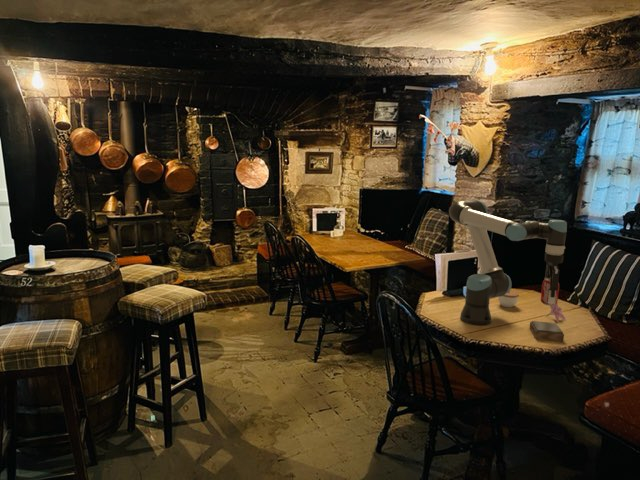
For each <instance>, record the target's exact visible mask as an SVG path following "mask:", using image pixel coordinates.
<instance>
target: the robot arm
mask: <svg viewBox="0 0 640 480" xmlns="http://www.w3.org/2000/svg"><path fill="white" fill-rule="evenodd" d="M487 207H488V206H487V205H486V203H485V202H484V201H482V200H480V199H467V200H457V201H455V202H453V203H452V204H451V205H450V207H449V209H448V215H449V217H450V219H451V220H452V221H454V222H456V223H458V224H462V225H464V227H465V229H468V231H469V235H470V238H471V241H472V244H473V247H474V250H475V253H476V256H477V260H478V262H479V266H480V269H481V272H480V273H474V274H472V275H470V276H468V277H467V279H466V284H465V285H466V289H465V290H466V291H465V300H464V305H463V308H462V310H461V312H460V315H459V316H460V317H459V318H460V320H461V321H463V322H464V323H467V324H470V325H475V326H476V325H477V326H486V325H489V324H491V323H492V316H491V315H492V314H491V310H490V299H495V298H498V297H500V296H503V295H505V294H507V293H508V292H509V291H510V290H511V288H512V286H513V285H512V280H511V277H510V276H509V275H507V273H504V270H503V268H502V267H500V266H499V265H498V261H497V259H496V255H495V252H494V249H493V246H492V243H491V240H490V236H489V234H488V231H489V232H492V233H496V234H499V235H502V236H505V237H506V238H508V239H509V240H510V241H512V242H520V241H523V240H529V239H543V240H546V243H545V244H546V245H545V251H544V252H545V253H544V262H546V267H545V273H544V274H545V275H544V279H545V278H550V289H548V290H549V296H548V304H555V296H556V291H558V282H559V280H560V279H559V278H560V271H561V270H560V269H559V266H558V265H559V264H562V263H563V262H564V253H565V249H566V246H565V245H566V244H565V243H566V238H567V232H568V230H567V229H568V222H567V221H566V220H562V219H549V221H548V222H540V221H536V220H526V221H525V222H522V223H520V222H517V221H512V220H510V219H506V218H502V217H500V216H496V215H493V214H489V213H488V212H489V211H488V208H487Z"/></svg>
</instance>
